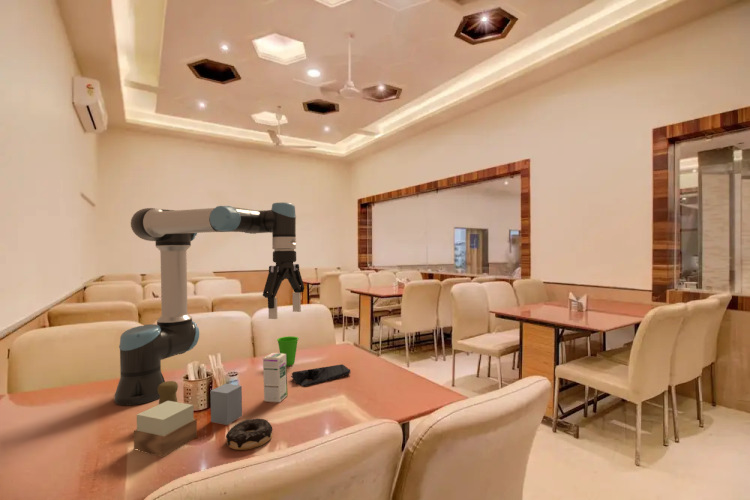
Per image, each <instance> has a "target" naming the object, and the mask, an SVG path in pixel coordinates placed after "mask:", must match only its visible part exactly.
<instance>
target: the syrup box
mask: <svg viewBox="0 0 750 500" xmlns="http://www.w3.org/2000/svg"><path fill="white" fill-rule="evenodd" d="M262 369H263V370H262V371H263V373H262V374H263V401H264V402H266V403H267V402H269V403H281V402H282V401H283V400H284V399H285V398H286V397H288V366H287V363H286V354H285V353H280V352H271V353H270V354H268V355H266V356H265V357H263V358H262Z"/></svg>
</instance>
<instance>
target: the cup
mask: <svg viewBox="0 0 750 500" xmlns="http://www.w3.org/2000/svg"><path fill="white" fill-rule="evenodd" d="M299 338H300V337H298V336H283V337H279V338H277V340H276V341H277V343H278V348H279V353H285V354H286V363H287V367H290V365H291V366H293V364H294V365H295V362H296V361H295V360H296V354H297V347H298V346H297V345H298V340H299Z"/></svg>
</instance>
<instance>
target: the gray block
mask: <svg viewBox="0 0 750 500" xmlns="http://www.w3.org/2000/svg"><path fill="white" fill-rule="evenodd" d="M242 389H243V388H242V385H237V384H231V383H224V384H222V385H220V386H218V387H216V388H213V389H211V390H210V423H216V424H220V425H224V426H225V425H226V426H228V425H230V424H232V423H233V422H235V421H236V420H238V419H240V418H241V417H243V401H242V399H243V395H242V394H243V392H242Z"/></svg>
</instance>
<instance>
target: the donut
mask: <svg viewBox="0 0 750 500" xmlns="http://www.w3.org/2000/svg"><path fill="white" fill-rule="evenodd" d="M273 434H274V433H273V426H272V425H271V423H270V421H269V420H267V419H264V418H258V417H257V418H251V419H245V420H242V421H241V422H238V423H236V424H235V425H233V426H232V427H231V428H229V430H228V431H227V433H226V435H225V438H226V440H225V441H226V445H227V446H228V447H229V448H230V449H231V450H235V451H247V450H251V449H254V448H258V447H261V446H263V445H265V444H266V443H268V442H269V441H270V440H271V439H272V437H273Z"/></svg>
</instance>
